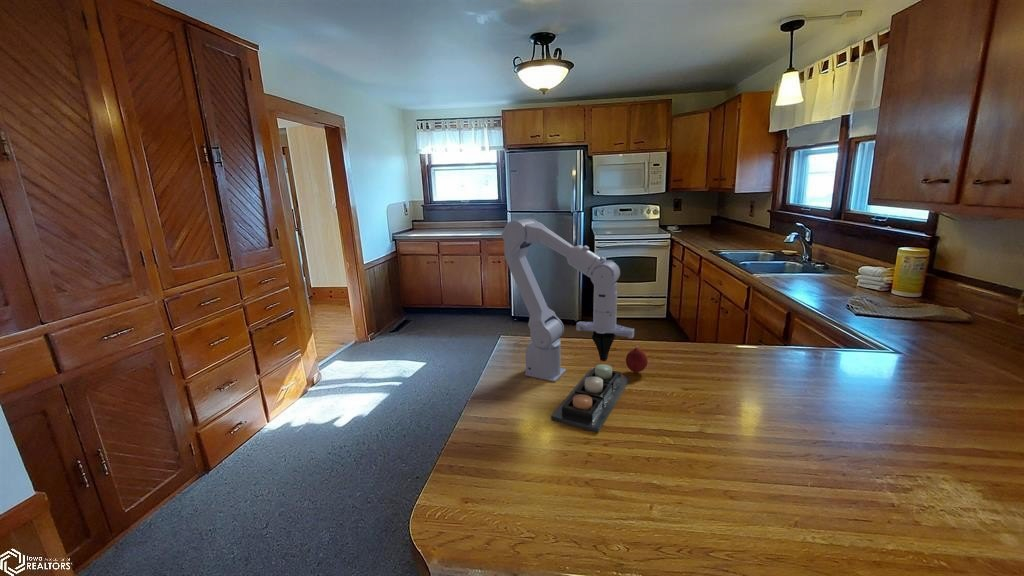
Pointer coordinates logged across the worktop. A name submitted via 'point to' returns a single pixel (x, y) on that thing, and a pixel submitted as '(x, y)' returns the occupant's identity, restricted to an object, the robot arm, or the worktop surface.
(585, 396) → the button terracotta
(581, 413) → the tray
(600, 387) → the button cream
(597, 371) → the button sage
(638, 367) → the onion
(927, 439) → the worktop surface
